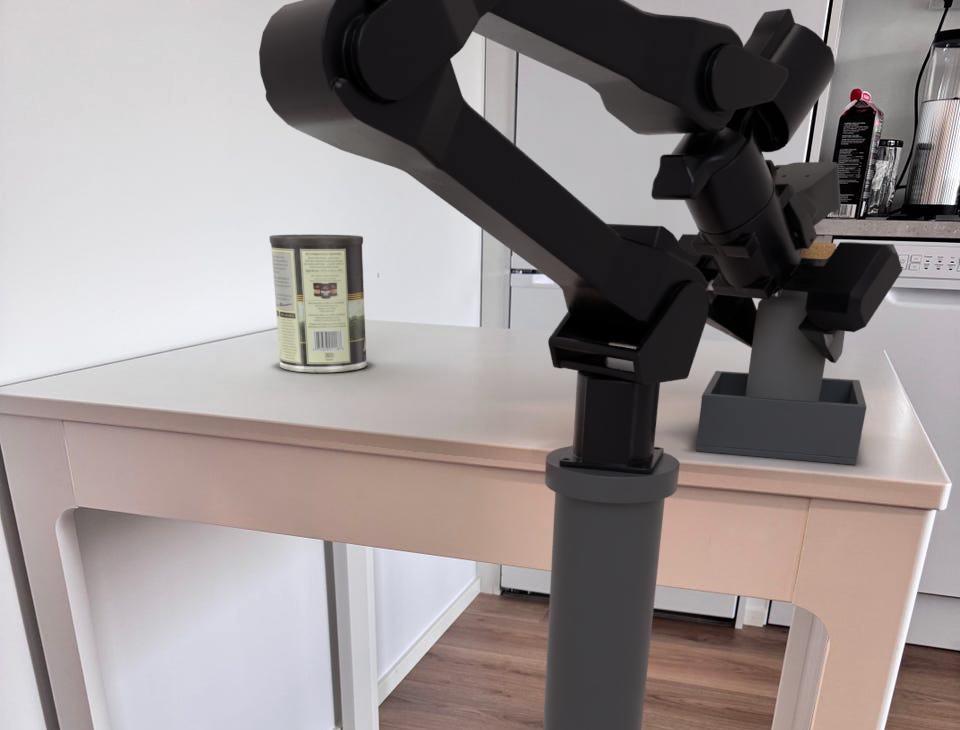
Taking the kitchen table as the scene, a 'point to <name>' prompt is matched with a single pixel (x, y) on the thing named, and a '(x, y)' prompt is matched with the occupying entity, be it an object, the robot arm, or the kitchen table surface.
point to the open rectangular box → (782, 421)
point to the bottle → (786, 345)
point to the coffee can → (319, 302)
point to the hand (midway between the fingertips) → (798, 352)
